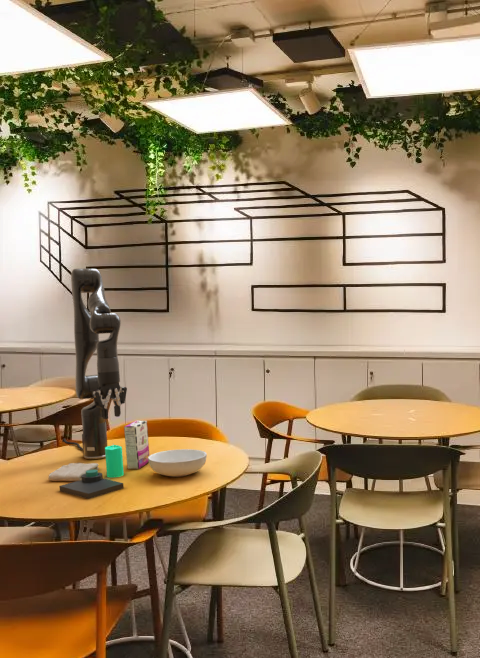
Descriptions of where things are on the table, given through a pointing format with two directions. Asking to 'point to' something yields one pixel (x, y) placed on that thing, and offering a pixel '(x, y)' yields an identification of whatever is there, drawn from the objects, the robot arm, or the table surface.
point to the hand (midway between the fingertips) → (111, 417)
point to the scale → (91, 486)
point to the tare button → (91, 473)
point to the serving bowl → (177, 462)
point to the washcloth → (72, 472)
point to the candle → (114, 461)
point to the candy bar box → (136, 444)
